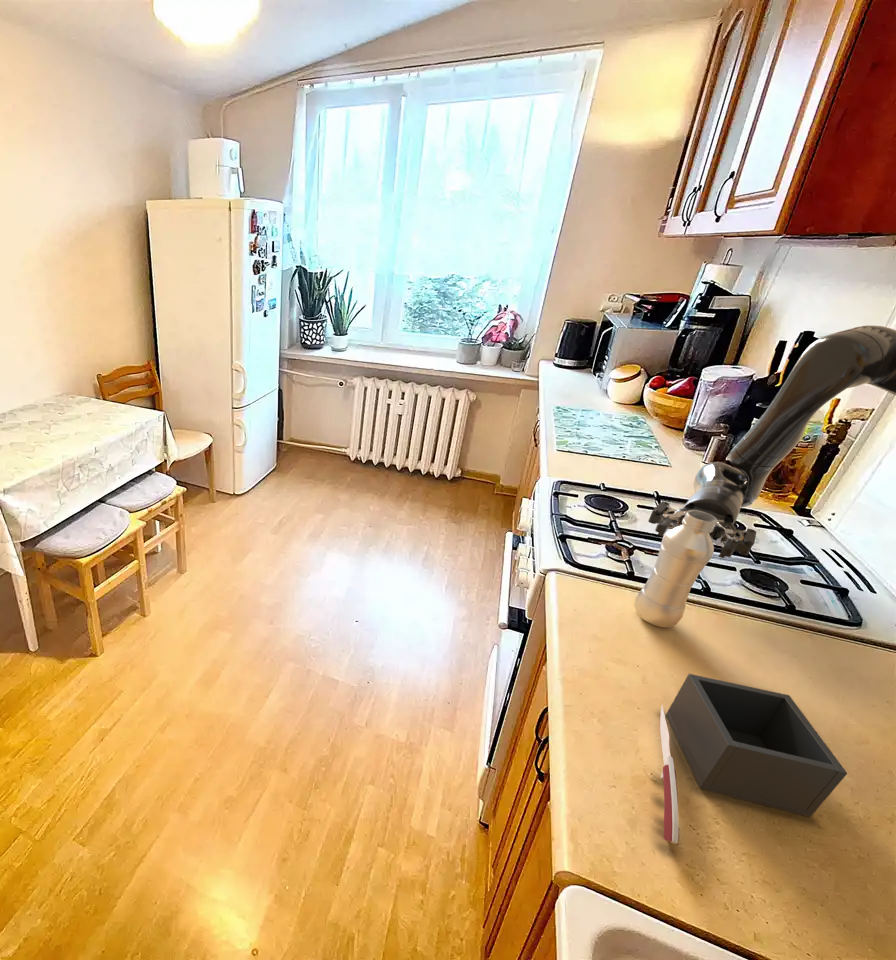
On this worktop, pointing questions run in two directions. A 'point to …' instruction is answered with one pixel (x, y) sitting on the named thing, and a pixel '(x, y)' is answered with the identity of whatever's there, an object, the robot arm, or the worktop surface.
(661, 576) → the plastic bottle
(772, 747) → the bin
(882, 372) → the robot arm
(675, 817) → the knife
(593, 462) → the worktop surface
